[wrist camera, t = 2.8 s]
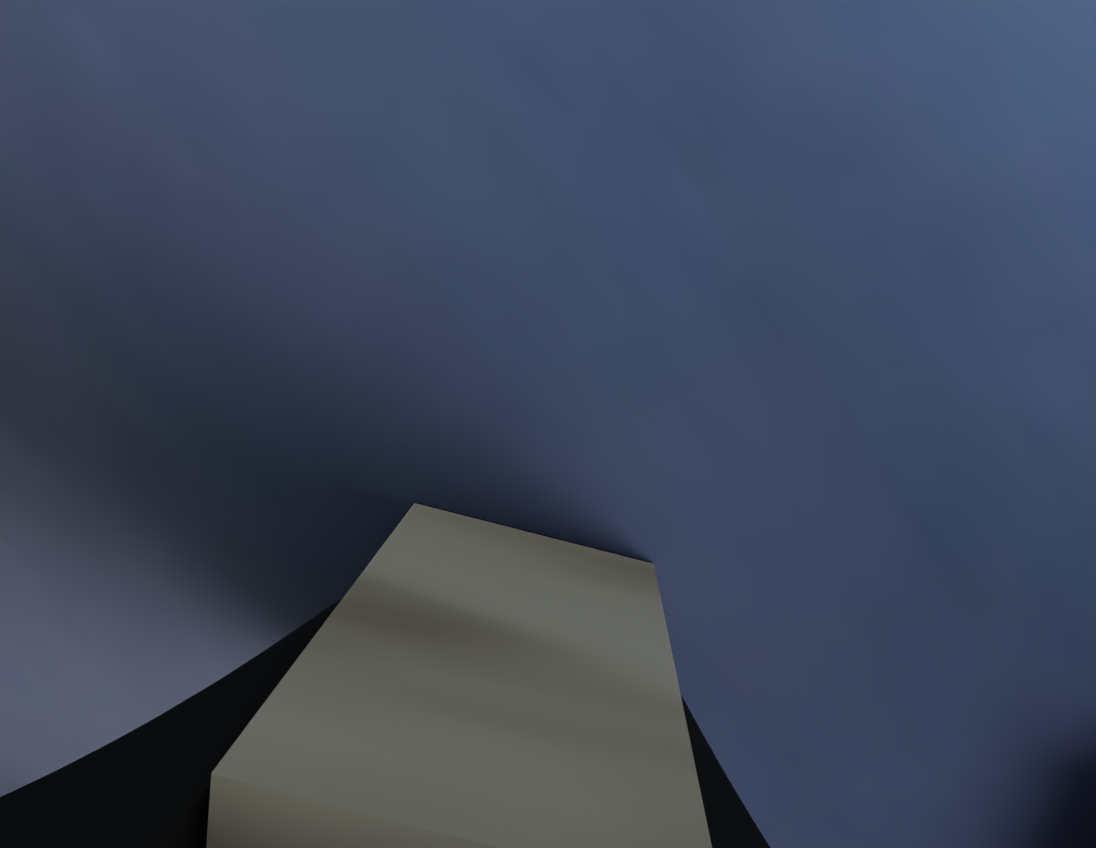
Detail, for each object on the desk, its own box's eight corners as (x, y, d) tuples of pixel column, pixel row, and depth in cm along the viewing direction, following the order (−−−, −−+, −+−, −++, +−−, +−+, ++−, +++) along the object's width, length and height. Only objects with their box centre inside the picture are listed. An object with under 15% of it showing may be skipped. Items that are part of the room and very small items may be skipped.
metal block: (590, 750, 11) (589, 1183, 6) (379, 696, 11) (189, 1078, 6) (653, 563, 10) (723, 905, 5) (414, 502, 10) (211, 772, 5)
